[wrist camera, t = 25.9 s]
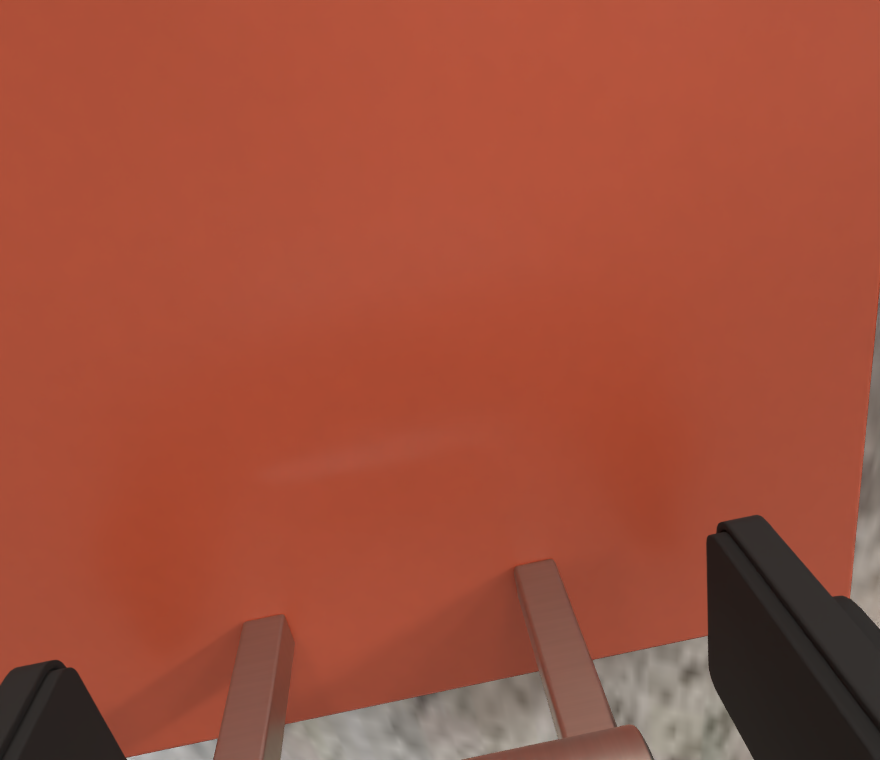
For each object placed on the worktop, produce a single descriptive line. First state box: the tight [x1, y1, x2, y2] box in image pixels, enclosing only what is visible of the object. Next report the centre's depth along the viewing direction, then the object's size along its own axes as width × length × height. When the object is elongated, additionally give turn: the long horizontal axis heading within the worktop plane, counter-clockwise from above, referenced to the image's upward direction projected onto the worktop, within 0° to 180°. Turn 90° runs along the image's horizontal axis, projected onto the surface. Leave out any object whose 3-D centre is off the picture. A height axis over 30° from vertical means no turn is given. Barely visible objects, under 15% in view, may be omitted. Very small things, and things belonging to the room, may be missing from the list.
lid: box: [0, 0, 880, 760], centre depth 7 cm, size 16×16×6 cm
